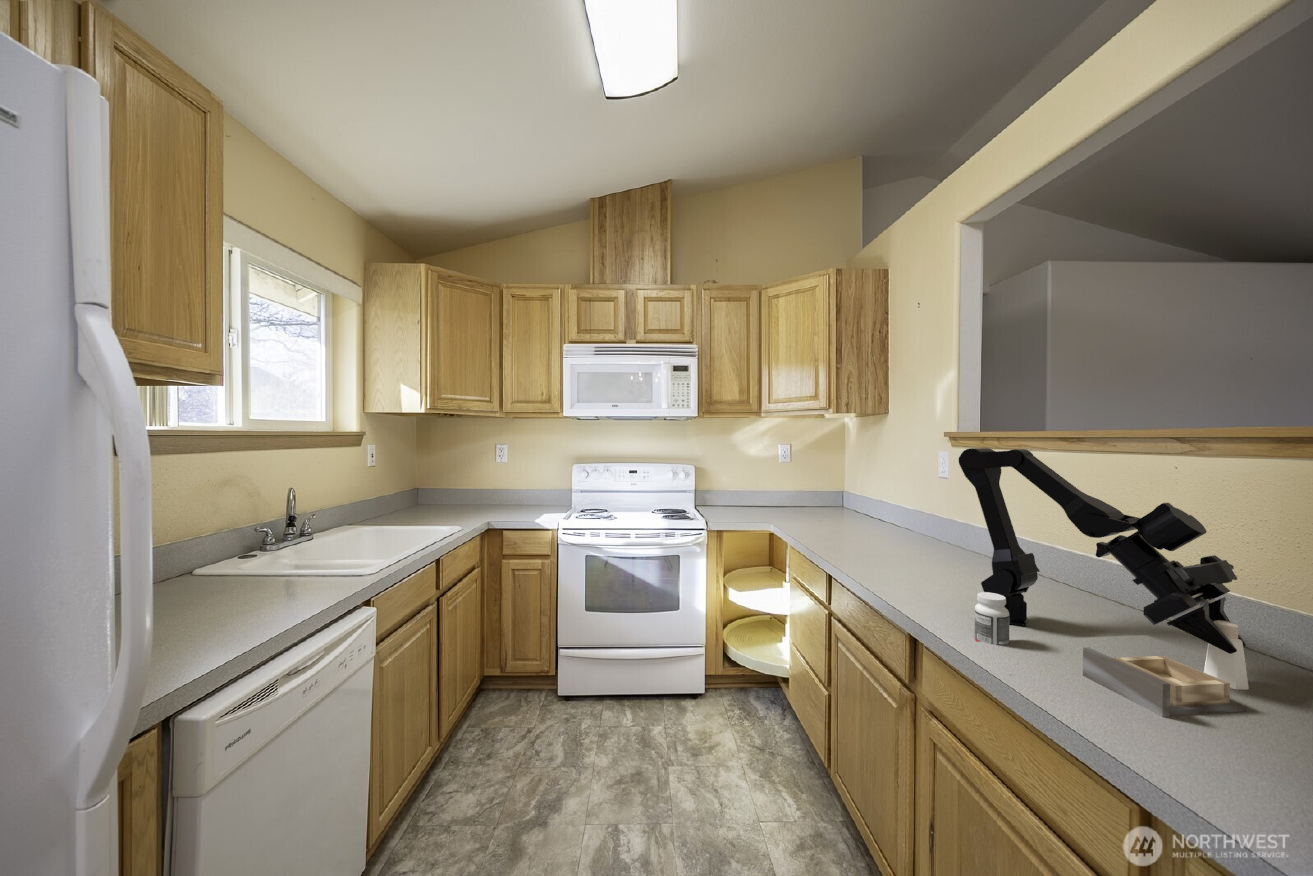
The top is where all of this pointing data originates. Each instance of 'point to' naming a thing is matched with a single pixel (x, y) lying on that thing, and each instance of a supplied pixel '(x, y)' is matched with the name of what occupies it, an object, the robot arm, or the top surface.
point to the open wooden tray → (1141, 686)
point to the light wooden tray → (1183, 681)
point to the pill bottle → (991, 619)
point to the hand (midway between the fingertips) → (1238, 649)
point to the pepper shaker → (1227, 658)
